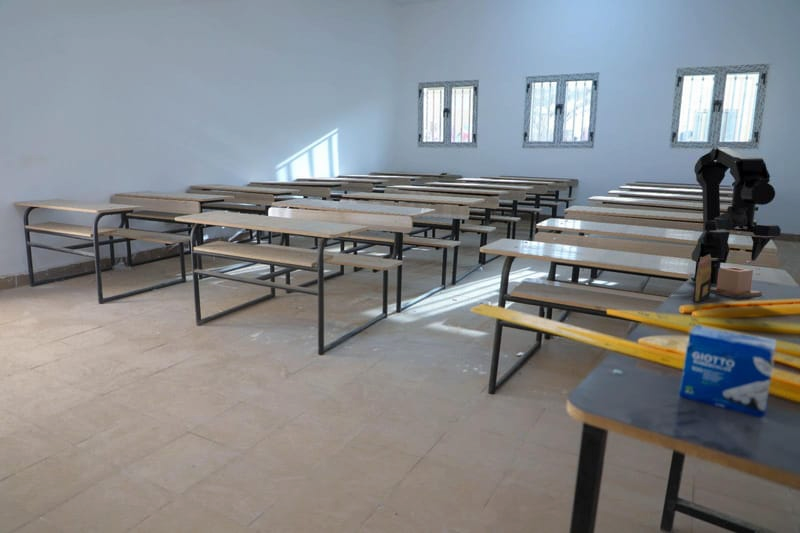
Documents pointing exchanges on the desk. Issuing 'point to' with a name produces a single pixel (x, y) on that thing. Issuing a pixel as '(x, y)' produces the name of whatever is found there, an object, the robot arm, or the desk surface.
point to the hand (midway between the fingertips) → (737, 258)
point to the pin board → (734, 294)
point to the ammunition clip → (703, 280)
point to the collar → (734, 279)
